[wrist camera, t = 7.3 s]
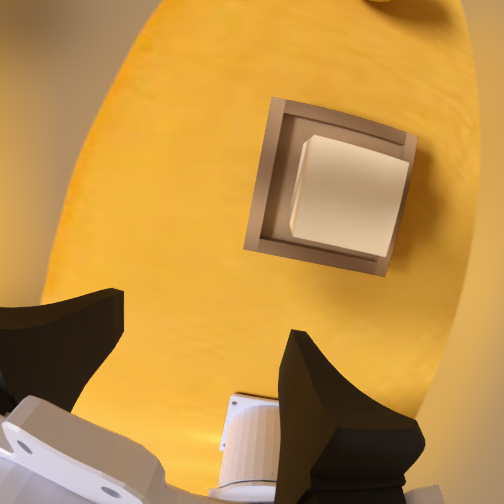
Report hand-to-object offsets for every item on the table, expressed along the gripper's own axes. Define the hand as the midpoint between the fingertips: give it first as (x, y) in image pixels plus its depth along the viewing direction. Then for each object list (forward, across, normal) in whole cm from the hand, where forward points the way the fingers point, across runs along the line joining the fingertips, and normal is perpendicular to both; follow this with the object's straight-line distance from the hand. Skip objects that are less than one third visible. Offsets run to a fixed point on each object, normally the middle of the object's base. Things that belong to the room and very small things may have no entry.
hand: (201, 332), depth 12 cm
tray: (+10, -5, -6) cm, 13 cm away
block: (+7, -5, -6) cm, 11 cm away
